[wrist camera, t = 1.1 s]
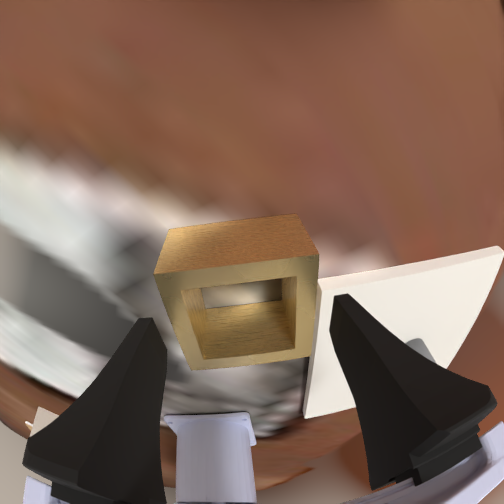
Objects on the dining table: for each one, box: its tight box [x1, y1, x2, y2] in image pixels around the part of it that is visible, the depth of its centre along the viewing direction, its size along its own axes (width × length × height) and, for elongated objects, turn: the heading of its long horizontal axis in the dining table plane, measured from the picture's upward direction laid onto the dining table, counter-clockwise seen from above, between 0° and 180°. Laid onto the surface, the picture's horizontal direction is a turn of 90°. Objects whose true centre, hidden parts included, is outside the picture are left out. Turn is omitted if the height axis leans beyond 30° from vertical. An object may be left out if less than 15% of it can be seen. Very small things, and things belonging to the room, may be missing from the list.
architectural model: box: [25, 407, 59, 437], centre depth 21 cm, size 3×7×7 cm, turn 65°
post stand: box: [303, 246, 504, 419], centre depth 17 cm, size 16×16×6 cm
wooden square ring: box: [153, 214, 319, 370], centre depth 12 cm, size 6×6×4 cm
